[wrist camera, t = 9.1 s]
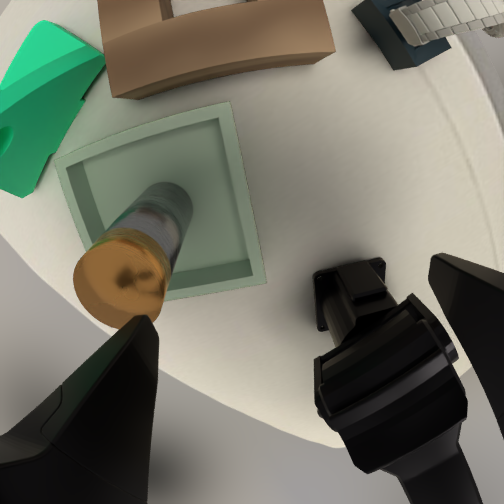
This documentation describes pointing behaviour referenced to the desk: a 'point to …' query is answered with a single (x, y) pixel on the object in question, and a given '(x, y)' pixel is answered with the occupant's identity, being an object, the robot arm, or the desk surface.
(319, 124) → the desk surface
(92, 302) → the steel pin
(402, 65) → the watch
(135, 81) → the hole block
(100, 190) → the tray
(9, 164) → the camera mount
